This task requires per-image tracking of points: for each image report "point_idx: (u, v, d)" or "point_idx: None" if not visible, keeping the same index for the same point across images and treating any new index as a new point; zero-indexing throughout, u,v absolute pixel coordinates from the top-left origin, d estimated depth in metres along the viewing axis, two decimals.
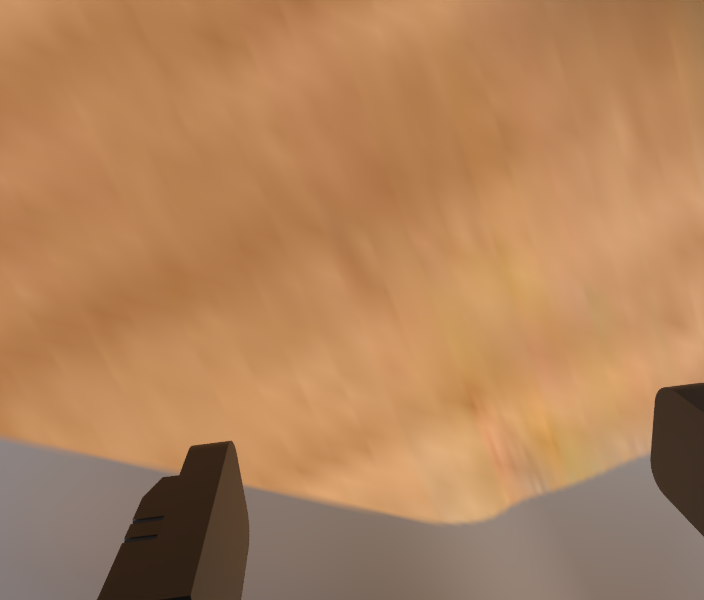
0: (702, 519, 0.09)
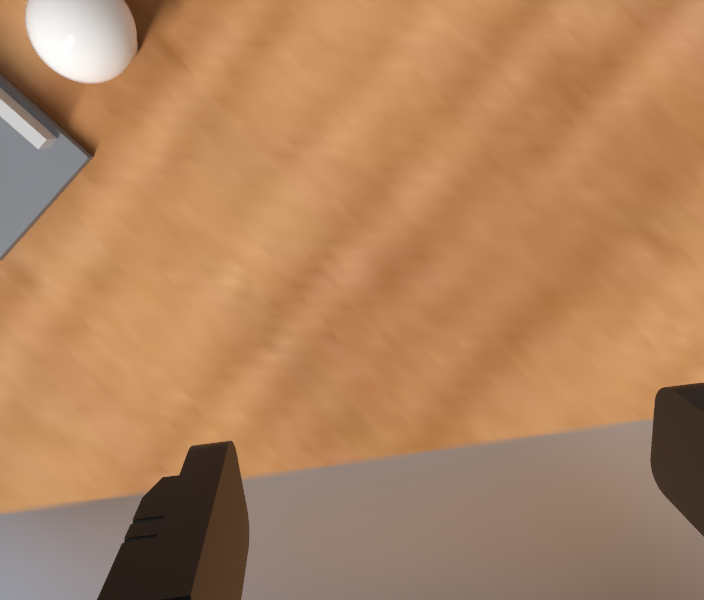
0: (702, 519, 0.09)
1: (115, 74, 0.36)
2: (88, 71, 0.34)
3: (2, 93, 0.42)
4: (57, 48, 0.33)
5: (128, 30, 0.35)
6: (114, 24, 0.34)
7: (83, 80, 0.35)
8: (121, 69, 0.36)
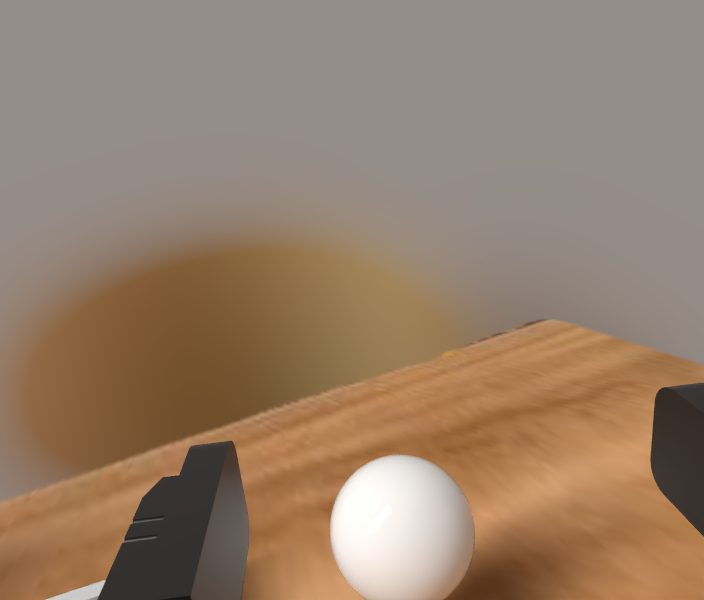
0: (702, 519, 0.09)
1: (421, 578, 0.22)
2: (391, 539, 0.22)
3: None
4: (371, 494, 0.23)
5: (468, 530, 0.23)
6: (457, 504, 0.23)
7: (372, 563, 0.22)
8: (434, 576, 0.22)
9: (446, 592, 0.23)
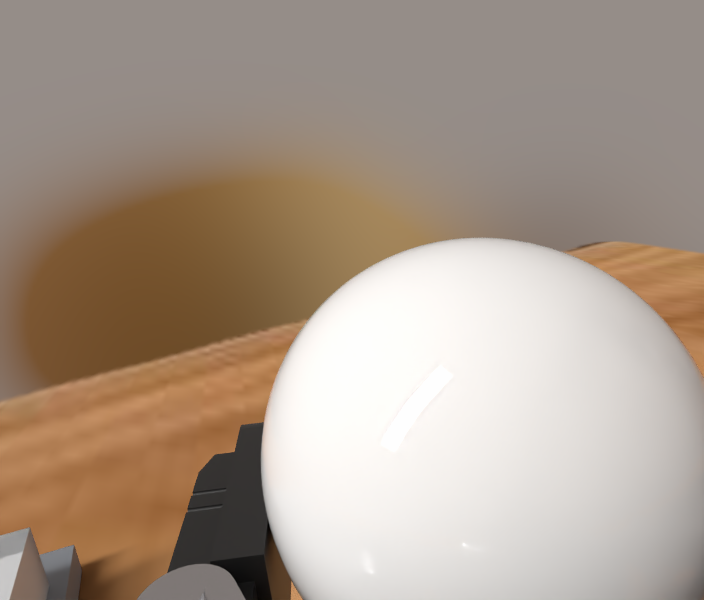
0: None
1: None
2: (474, 444, 0.05)
3: None
4: (390, 305, 0.07)
5: None
6: (681, 346, 0.07)
7: (397, 542, 0.06)
8: (645, 594, 0.05)
9: None
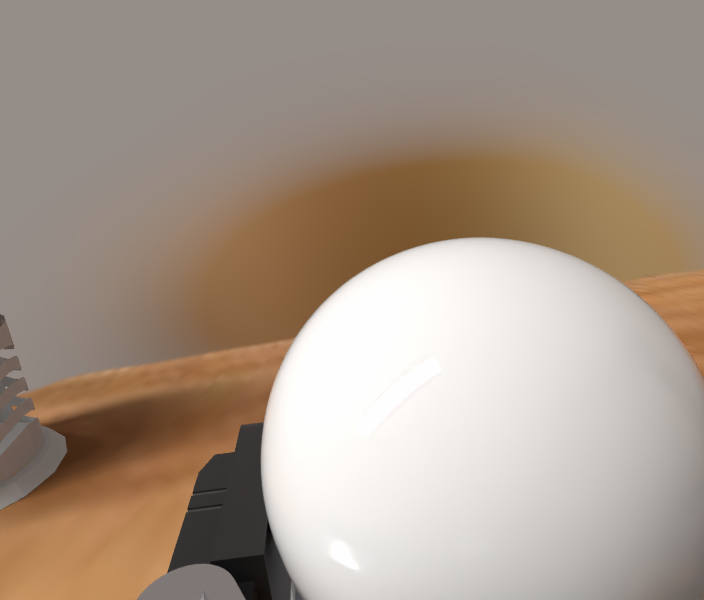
0: None
1: None
2: (473, 444, 0.05)
3: None
4: (390, 305, 0.07)
5: None
6: (681, 346, 0.07)
7: (396, 541, 0.06)
8: (646, 595, 0.05)
9: None
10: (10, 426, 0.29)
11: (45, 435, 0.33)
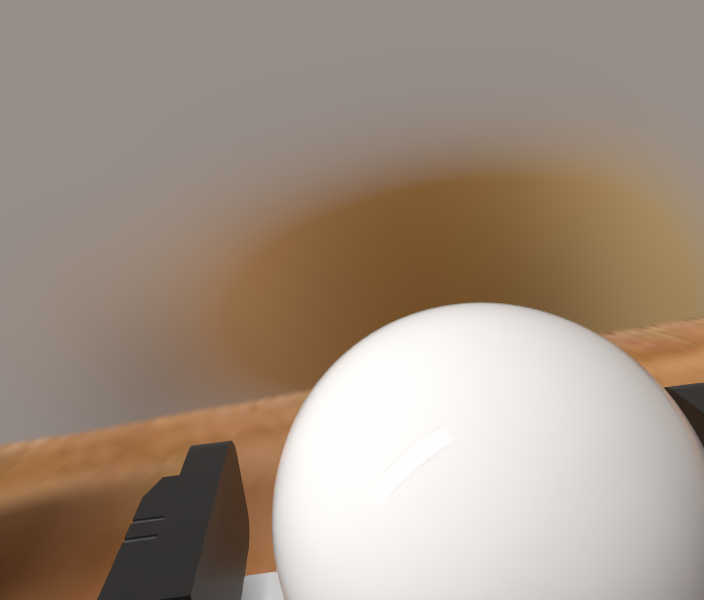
0: None
1: None
2: (484, 535, 0.06)
3: None
4: (401, 383, 0.07)
5: None
6: (683, 421, 0.07)
7: None
8: None
9: None
10: None
11: None
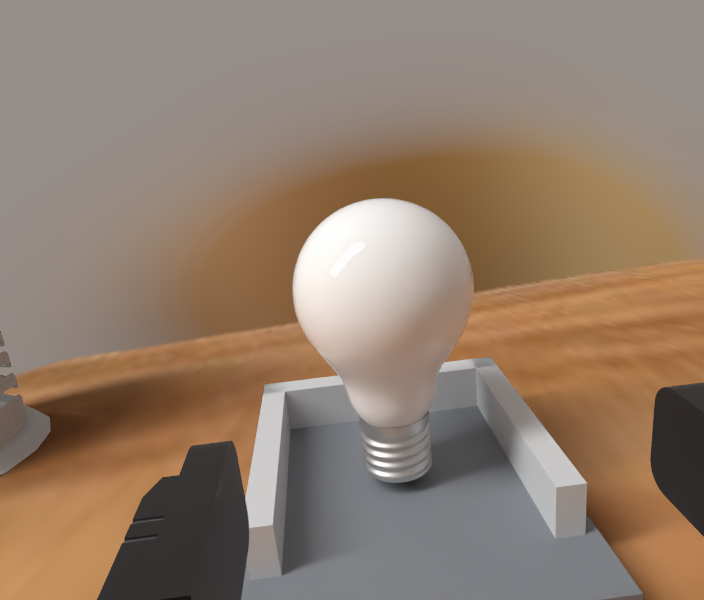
0: (702, 519, 0.09)
1: (404, 307, 0.17)
2: (365, 258, 0.17)
3: None
4: (341, 220, 0.18)
5: (465, 268, 0.18)
6: (450, 236, 0.18)
7: (341, 292, 0.17)
8: (421, 306, 0.17)
9: (437, 340, 0.18)
10: None
11: (28, 414, 0.32)
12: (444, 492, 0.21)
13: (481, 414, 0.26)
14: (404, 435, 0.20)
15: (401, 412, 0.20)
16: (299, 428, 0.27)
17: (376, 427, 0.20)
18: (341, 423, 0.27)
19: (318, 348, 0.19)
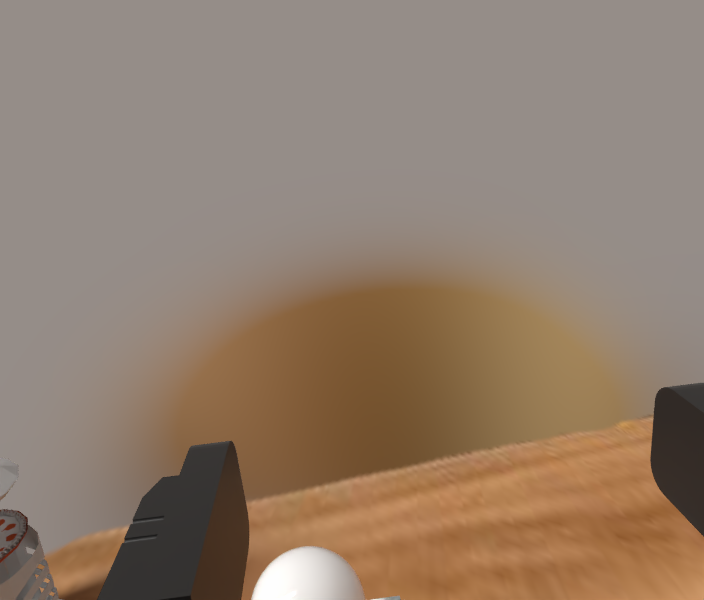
0: (702, 519, 0.09)
1: None
2: None
3: None
4: (278, 586, 0.29)
5: None
6: (347, 593, 0.29)
7: None
8: None
9: None
10: None
11: None
12: None
13: None
14: None
15: None
16: None
17: None
18: None
19: None
